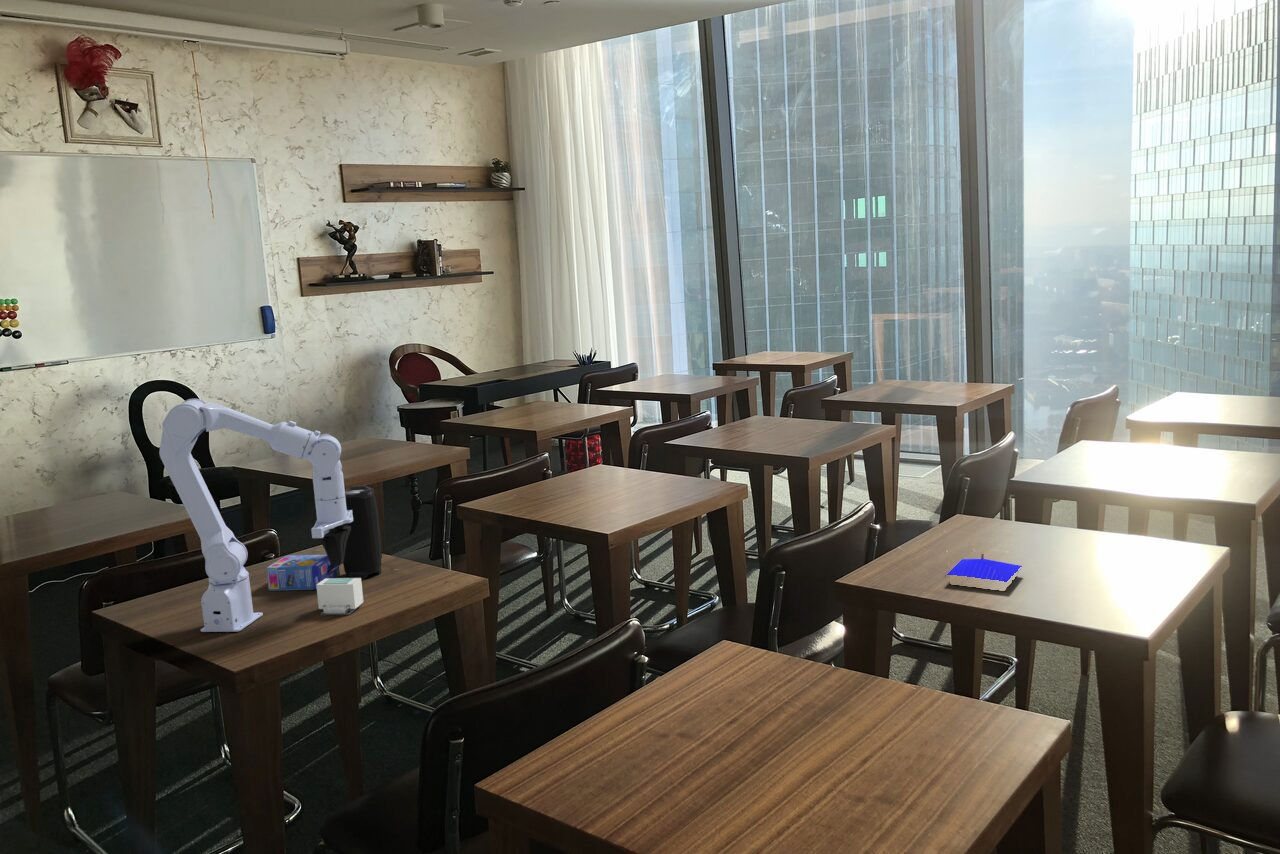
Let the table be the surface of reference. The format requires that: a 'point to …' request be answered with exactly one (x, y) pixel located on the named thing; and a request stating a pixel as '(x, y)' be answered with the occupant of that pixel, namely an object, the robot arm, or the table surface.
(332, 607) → the grey base plate
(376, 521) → the portable speaker
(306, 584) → the ink cartridge box
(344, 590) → the rail module
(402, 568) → the table surface
